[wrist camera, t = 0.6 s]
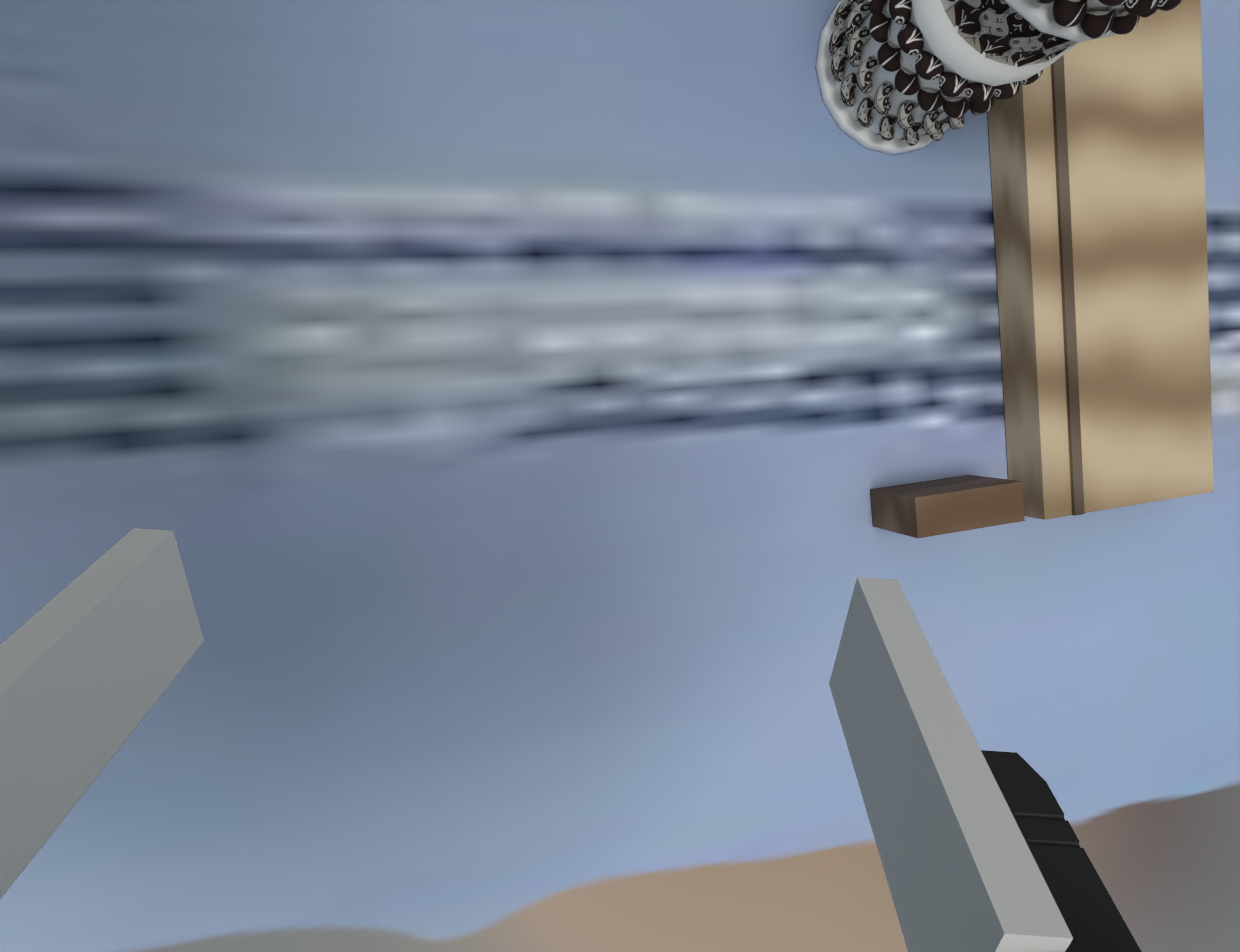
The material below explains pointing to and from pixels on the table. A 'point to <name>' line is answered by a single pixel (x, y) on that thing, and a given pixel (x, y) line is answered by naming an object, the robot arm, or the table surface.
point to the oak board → (1106, 272)
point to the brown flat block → (947, 505)
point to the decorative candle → (948, 58)
